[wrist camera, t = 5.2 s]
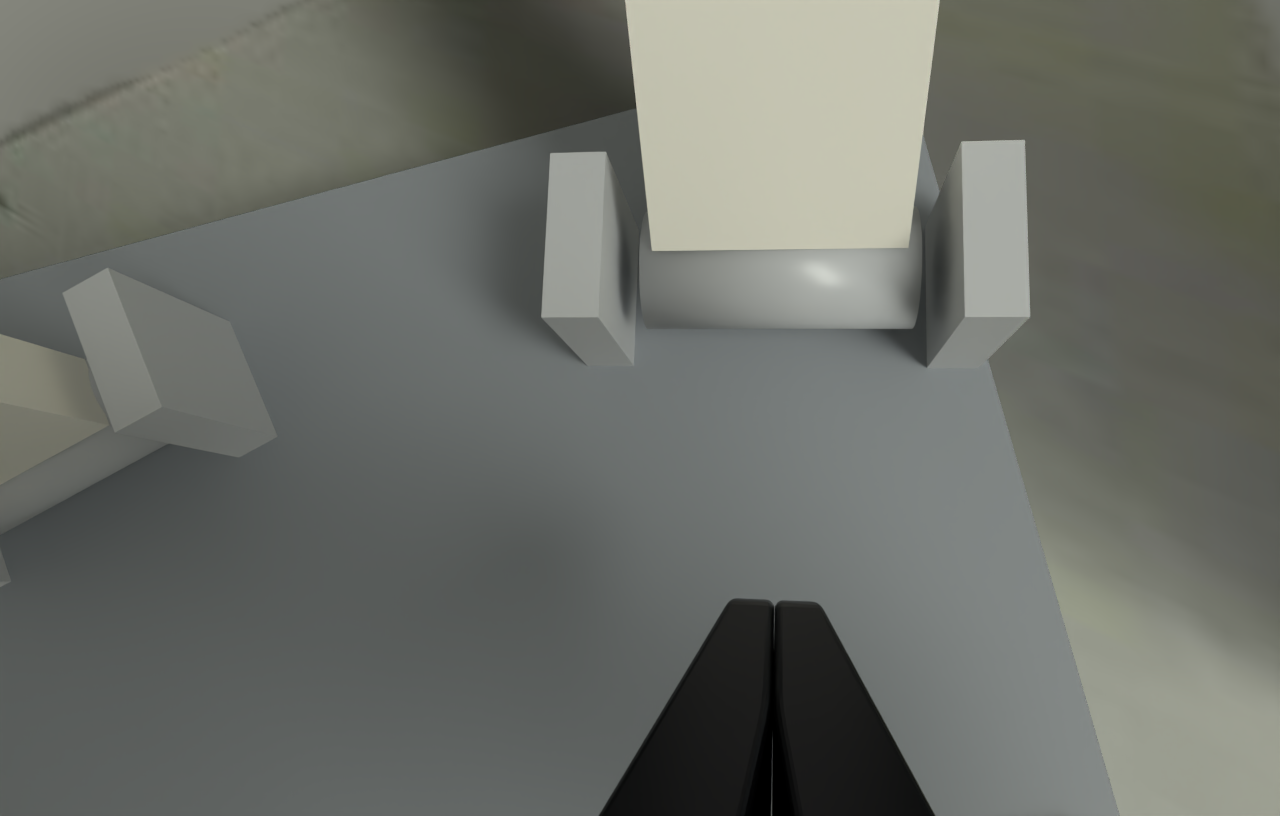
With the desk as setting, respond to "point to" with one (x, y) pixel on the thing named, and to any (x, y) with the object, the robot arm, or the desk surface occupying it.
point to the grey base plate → (514, 506)
